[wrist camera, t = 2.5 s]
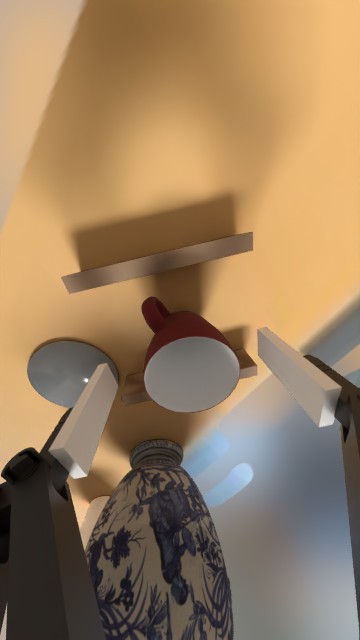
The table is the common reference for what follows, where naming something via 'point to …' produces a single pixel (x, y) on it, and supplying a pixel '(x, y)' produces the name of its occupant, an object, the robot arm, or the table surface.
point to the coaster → (65, 370)
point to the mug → (187, 361)
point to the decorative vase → (159, 555)
